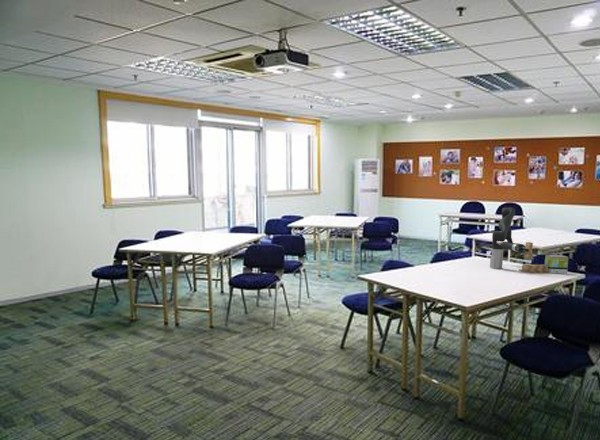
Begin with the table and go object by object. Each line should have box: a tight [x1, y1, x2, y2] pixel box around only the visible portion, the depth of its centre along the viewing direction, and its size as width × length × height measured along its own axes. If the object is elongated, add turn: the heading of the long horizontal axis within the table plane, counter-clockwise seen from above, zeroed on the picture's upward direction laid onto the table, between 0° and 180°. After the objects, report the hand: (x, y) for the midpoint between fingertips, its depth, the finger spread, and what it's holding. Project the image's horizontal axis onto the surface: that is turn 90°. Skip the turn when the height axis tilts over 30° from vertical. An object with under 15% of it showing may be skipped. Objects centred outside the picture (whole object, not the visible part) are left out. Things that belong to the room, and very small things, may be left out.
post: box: [524, 241, 534, 260], centre depth 403 cm, size 4×4×14 cm
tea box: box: [544, 254, 569, 274], centre depth 396 cm, size 15×10×15 cm, turn 97°
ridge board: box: [519, 263, 551, 274], centre depth 394 cm, size 20×13×6 cm, turn 100°
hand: (530, 250), depth 400 cm, fingers closed on post, 4 cm apart
